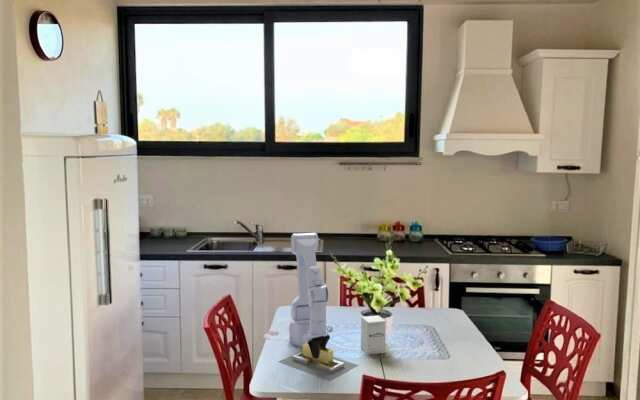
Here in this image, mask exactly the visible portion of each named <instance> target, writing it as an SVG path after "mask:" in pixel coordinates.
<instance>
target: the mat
mask: <svg viewBox="0 0 640 400" xmlns="http://www.w3.org/2000/svg"><path fill="white" fill-rule="evenodd" d="M302 351H303V350H301V351H298V352H296V353H294V354H292V355H290V356H287V357H285V358H282V359H281V360H279V361H278V362H277V363H280V364H283V365H286V366H289V367H292V368H294V369H296V370H299V371H303V372H305V373H308V374H310V375H312V376H316V377H318V378H321V379H324V380H325V381H329V382H331V381H333V380H335V379H337V378H339V377H341V376H342V375H344V374H345V373H348V372H349V371H351V370H353V369H354V368H357V367H359V364H356V363H353V362H350V361H346V360H344V359H341V358H338V357H334V356H333V359H334V360H337V361H340V362H343V363H344V367H343V368H341V369H340V370H338V371H336V372H334V373H332V374H330V373H328V372H325V371H322V370H319V369H316V365H315V364H313V363H310V364H308V365H305V364H302V363H300V362H297V361H294V360H293V356H294V355H296V354H298V353H300V352H302ZM333 367H334V366H333Z"/></svg>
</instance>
